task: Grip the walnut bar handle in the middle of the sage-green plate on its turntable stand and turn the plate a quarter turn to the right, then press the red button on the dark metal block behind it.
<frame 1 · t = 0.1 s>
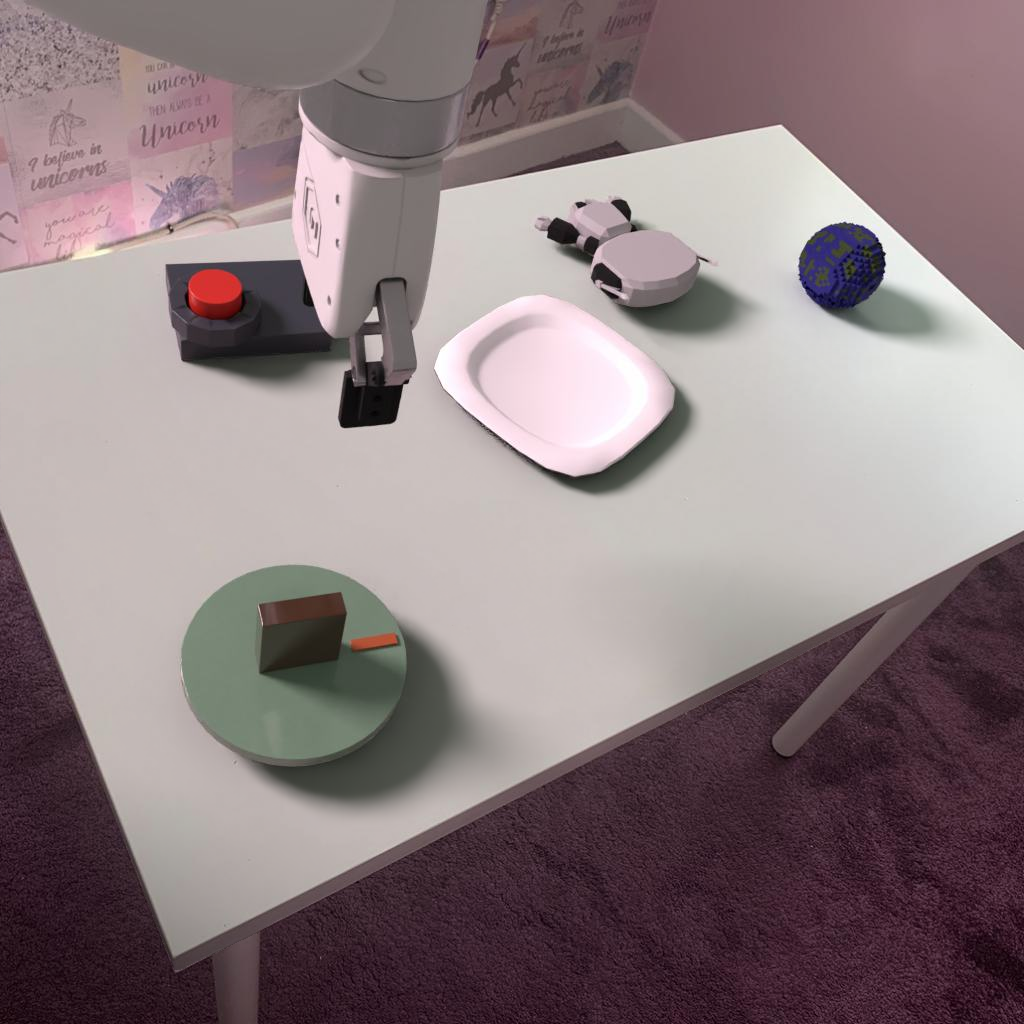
hand: (346, 359, 61), 19 cm above the table, tool pointing down, fingers open, 9 cm apart
robot toy: (614, 271, 104), on the table
button: (215, 294, 83), point 4 cm above the table, slide at 0.1 cm
turntable plate: (299, 637, 65), point 5 cm above the table, hinge at 0.0°
plate: (553, 392, 91), on the table
button block: (248, 317, 88), on the table
plate stand: (293, 679, 69), on the table
ball: (822, 295, 109), on the table
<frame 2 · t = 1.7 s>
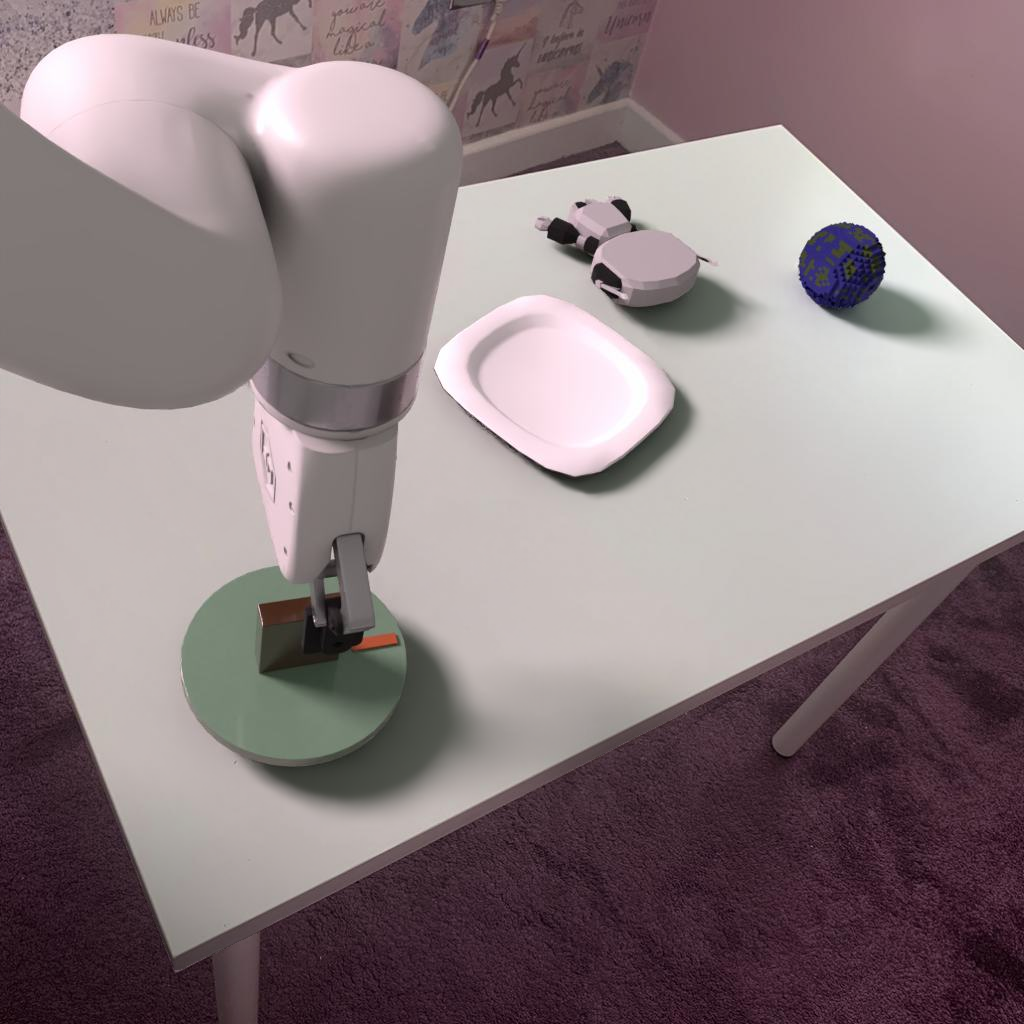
hand: (312, 571, 60), 13 cm above the table, tool pointing down, fingers open, 9 cm apart
nothing on the table moved.
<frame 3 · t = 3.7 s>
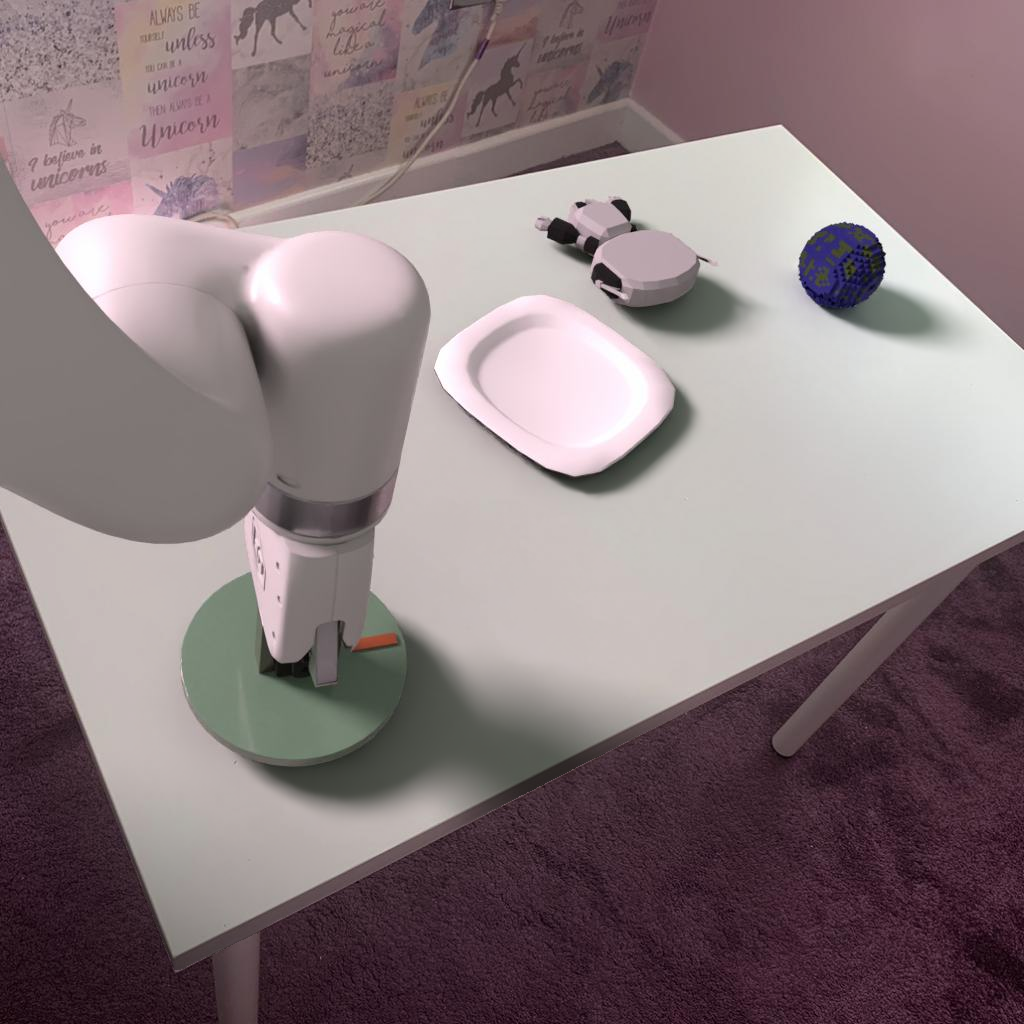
hand: (297, 651, 66), 4 cm above the table, tool pointing down, fingers closed on turntable plate
turntable plate: (299, 637, 65), point 5 cm above the table, hinge at 0.0°, touching gripper
everything else where it was.
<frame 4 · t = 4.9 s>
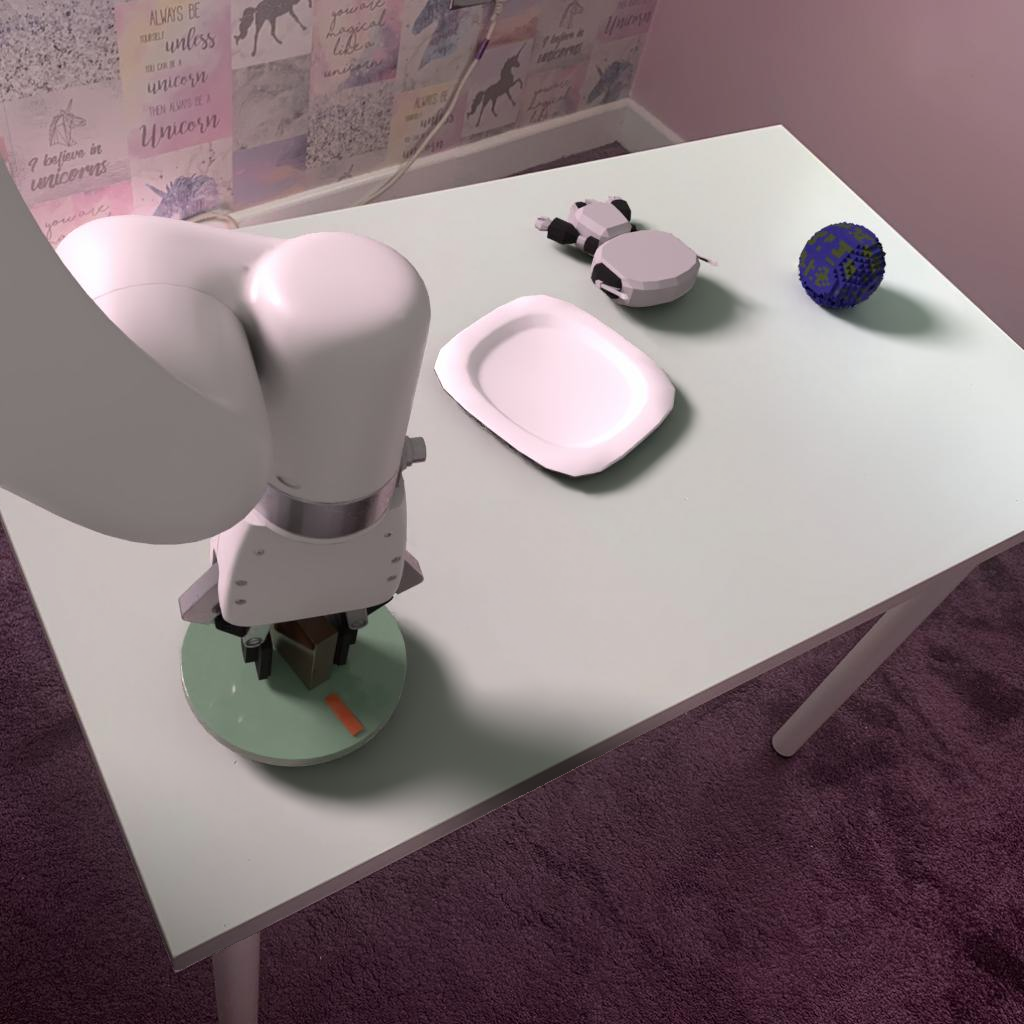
hand: (297, 650, 66), 4 cm above the table, tool pointing down, fingers open, 4 cm apart
turntable plate: (299, 637, 65), point 5 cm above the table, hinge at -66.7°
everything else where it was.
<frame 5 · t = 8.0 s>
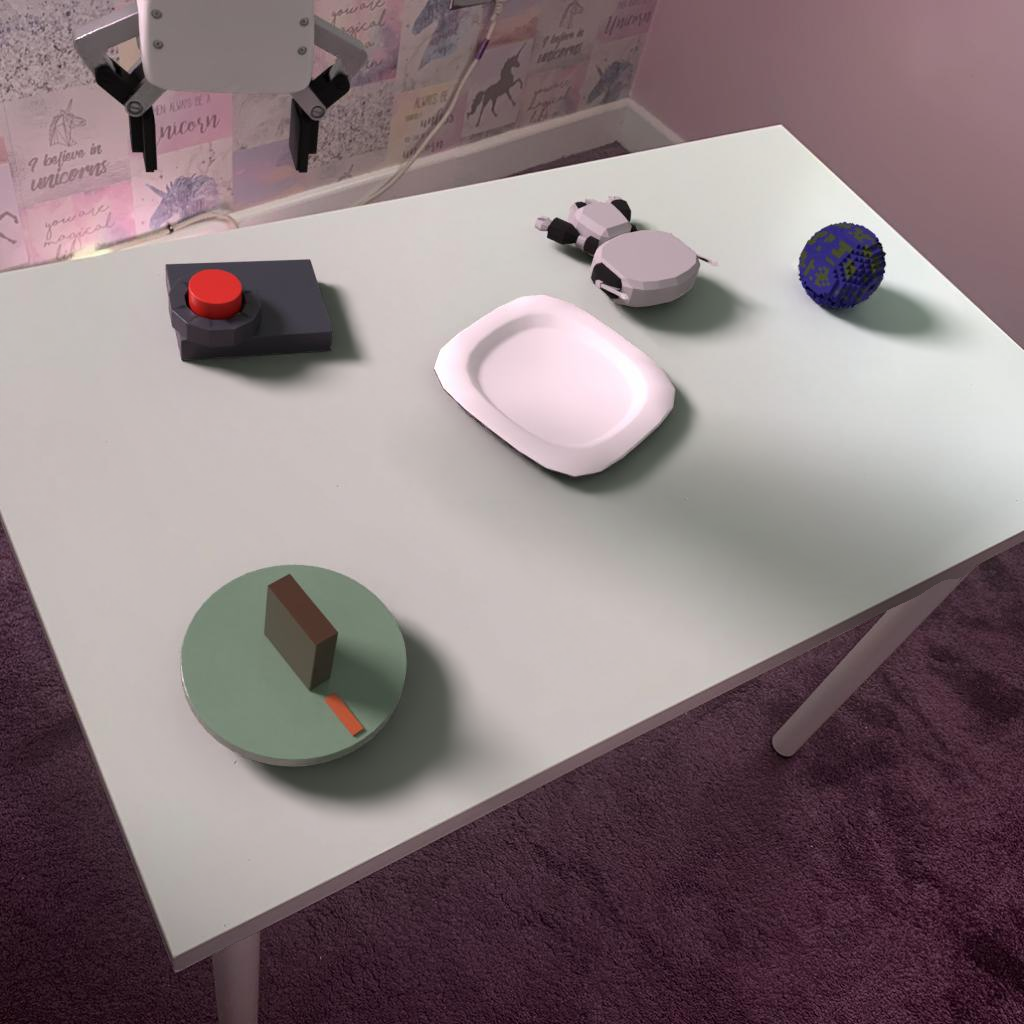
hand: (225, 159, 70), 19 cm above the table, tool pointing down, fingers open, 9 cm apart
nothing on the table moved.
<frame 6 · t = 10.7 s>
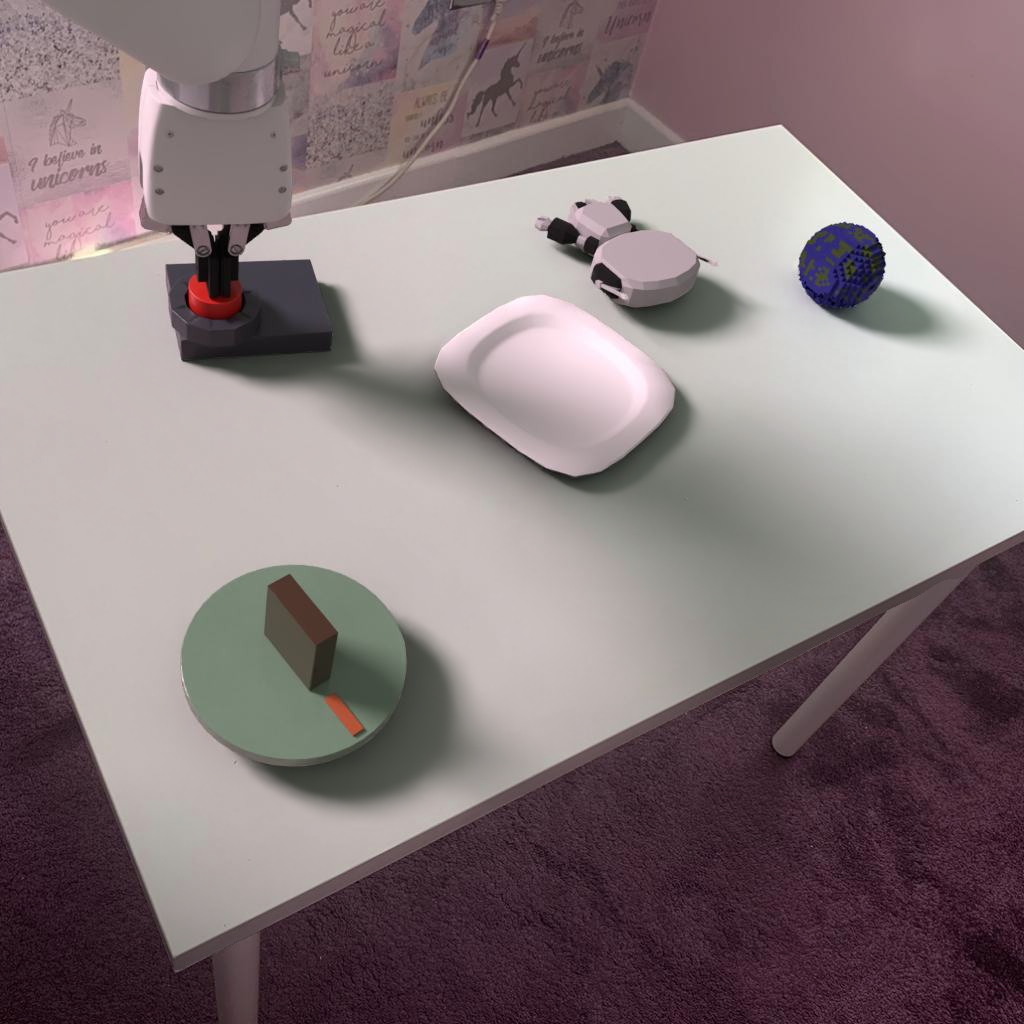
hand: (216, 285, 82), 5 cm above the table, tool pointing down, fingers closed
button: (215, 294, 83), point 4 cm above the table, slide at 0.1 cm, touching gripper
everything else where it was.
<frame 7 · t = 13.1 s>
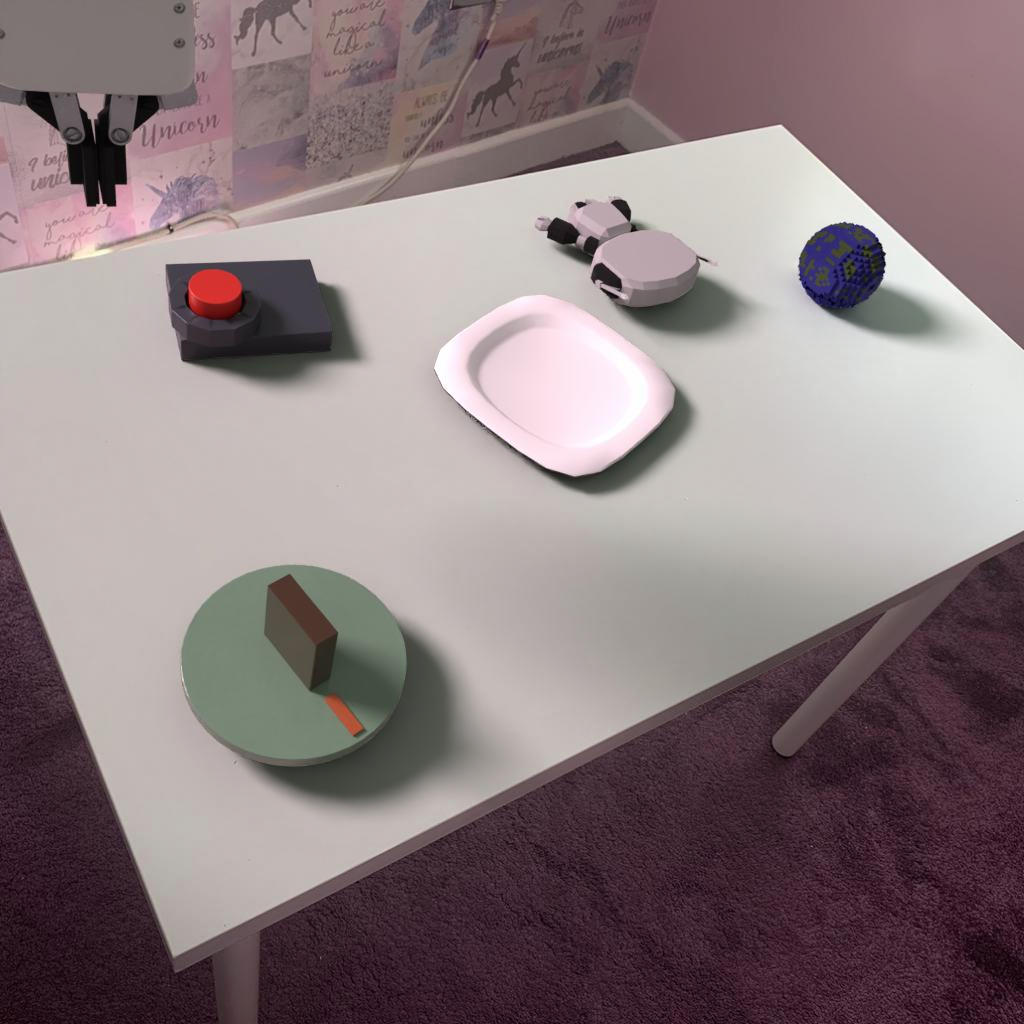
hand: (98, 191, 61), 22 cm above the table, tool pointing down, fingers closed
button: (215, 294, 83), point 4 cm above the table, slide at 0.1 cm
everything else where it was.
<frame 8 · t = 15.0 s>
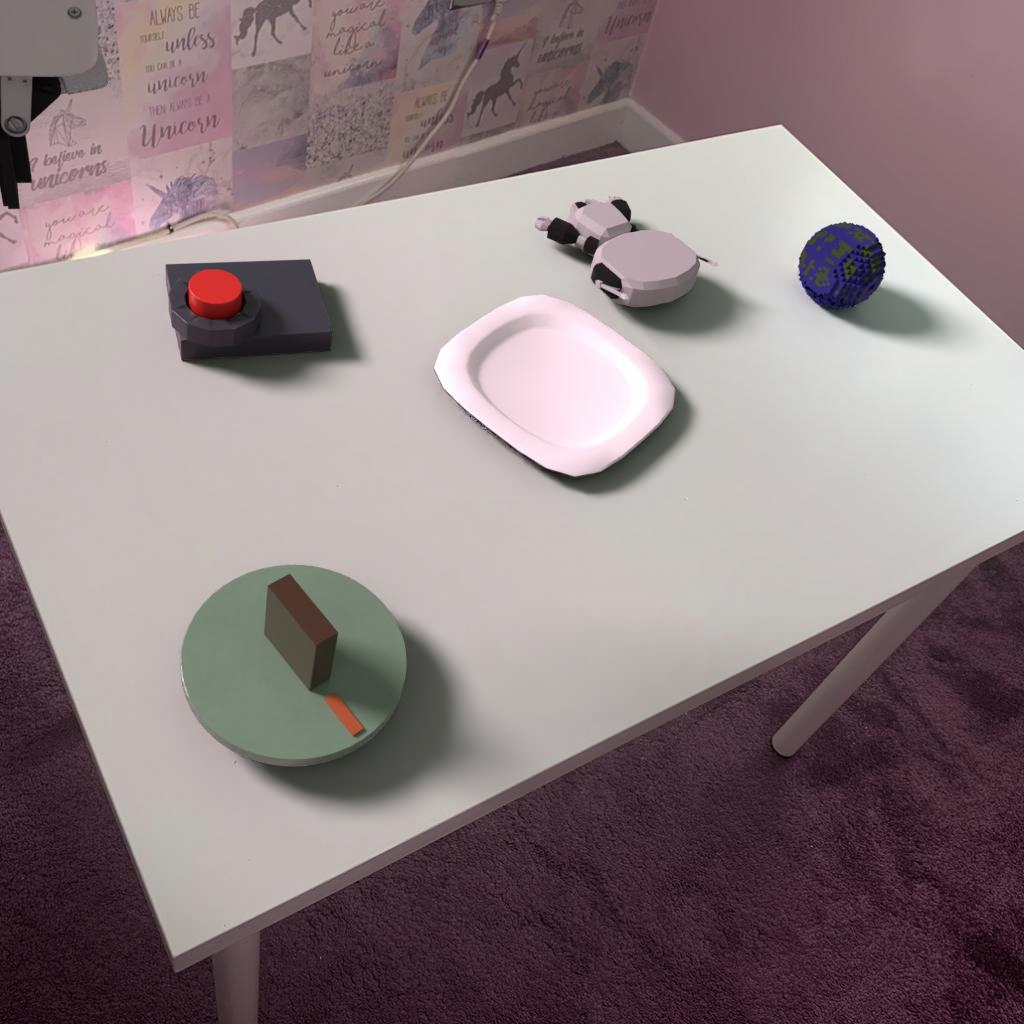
hand: (0, 191, 52), 27 cm above the table, tool pointing down, fingers closed
nothing on the table moved.
at the end: turntable plate at -67° (first picture: +0°); button pushed in 1.0 cm at the most during the clip, back to where it started at the end; button slide at 0.1 cm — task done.
